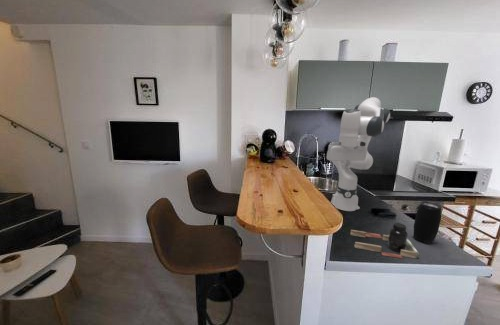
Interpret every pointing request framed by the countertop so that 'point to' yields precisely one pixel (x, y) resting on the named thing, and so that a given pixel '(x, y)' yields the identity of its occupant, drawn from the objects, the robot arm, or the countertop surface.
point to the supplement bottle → (397, 237)
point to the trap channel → (412, 253)
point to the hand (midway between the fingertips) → (344, 168)
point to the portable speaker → (427, 222)
